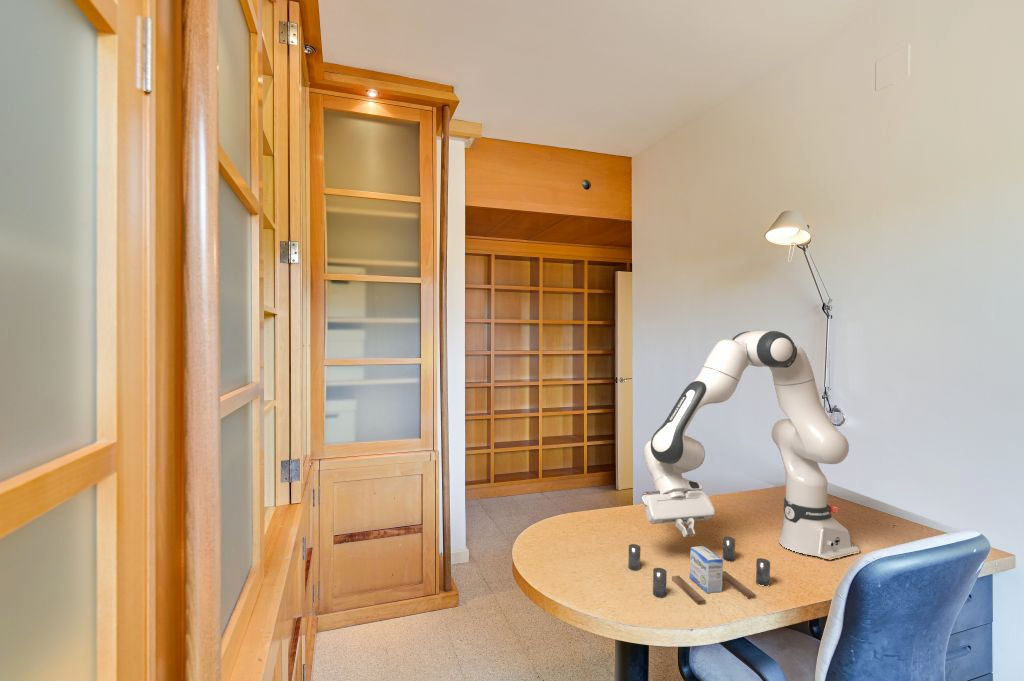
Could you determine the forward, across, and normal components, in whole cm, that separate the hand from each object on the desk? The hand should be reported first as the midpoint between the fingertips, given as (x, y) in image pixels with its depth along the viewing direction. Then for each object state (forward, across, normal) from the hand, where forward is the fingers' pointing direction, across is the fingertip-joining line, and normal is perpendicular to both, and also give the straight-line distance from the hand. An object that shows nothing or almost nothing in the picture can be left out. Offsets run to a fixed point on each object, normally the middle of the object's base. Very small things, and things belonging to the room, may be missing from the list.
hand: (689, 535), depth 136 cm
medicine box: (+13, -1, 0) cm, 13 cm away
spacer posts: (+9, 0, +4) cm, 10 cm away
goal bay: (+14, 0, -1) cm, 14 cm away
